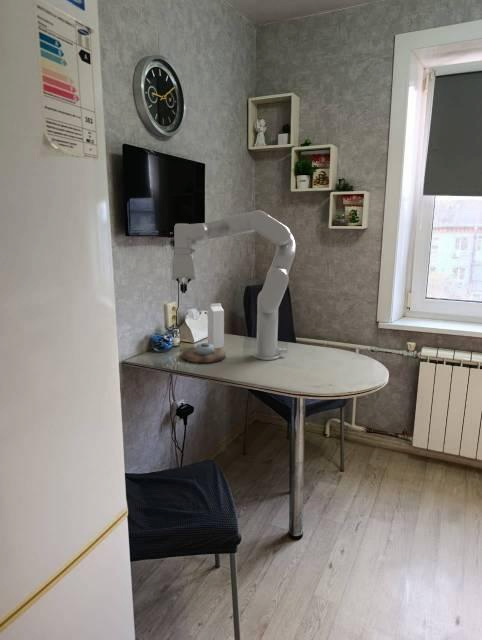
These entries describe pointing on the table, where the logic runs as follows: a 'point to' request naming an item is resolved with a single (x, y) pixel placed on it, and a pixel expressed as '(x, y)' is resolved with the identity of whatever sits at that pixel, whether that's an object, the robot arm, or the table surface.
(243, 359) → the table surface
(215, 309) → the milk
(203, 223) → the robot arm
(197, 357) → the turntable
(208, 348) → the cover
